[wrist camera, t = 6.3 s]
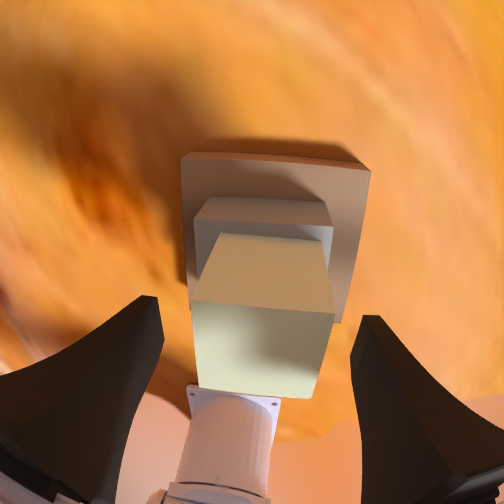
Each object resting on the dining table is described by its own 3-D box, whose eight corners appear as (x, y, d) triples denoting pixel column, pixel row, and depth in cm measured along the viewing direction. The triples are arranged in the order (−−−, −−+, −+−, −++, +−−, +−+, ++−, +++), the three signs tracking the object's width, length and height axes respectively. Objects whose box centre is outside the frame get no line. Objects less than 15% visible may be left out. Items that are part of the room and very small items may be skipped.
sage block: (307, 319, 14) (310, 398, 10) (220, 311, 14) (199, 387, 10) (321, 241, 12) (335, 313, 8) (220, 232, 12) (189, 299, 9)
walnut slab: (336, 298, 20) (340, 323, 18) (199, 287, 21) (189, 310, 18) (359, 161, 16) (371, 171, 14) (194, 149, 16) (180, 158, 14)
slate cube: (313, 297, 17) (316, 334, 14) (214, 291, 18) (202, 325, 15) (325, 202, 15) (333, 226, 12) (210, 196, 15) (193, 219, 12)
